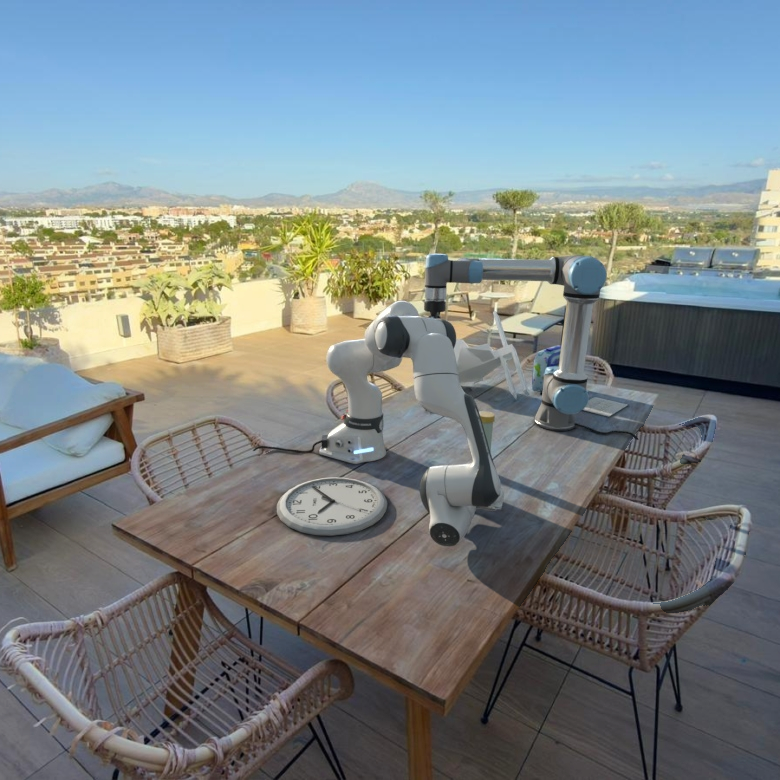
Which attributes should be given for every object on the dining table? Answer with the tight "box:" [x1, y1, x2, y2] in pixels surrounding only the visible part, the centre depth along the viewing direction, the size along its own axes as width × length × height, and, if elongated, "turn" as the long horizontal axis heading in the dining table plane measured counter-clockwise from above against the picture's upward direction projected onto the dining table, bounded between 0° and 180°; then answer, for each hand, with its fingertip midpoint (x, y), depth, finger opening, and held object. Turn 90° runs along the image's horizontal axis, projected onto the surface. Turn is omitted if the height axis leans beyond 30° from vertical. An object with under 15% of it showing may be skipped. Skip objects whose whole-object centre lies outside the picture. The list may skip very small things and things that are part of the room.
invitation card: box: [582, 396, 629, 418], centre depth 226 cm, size 21×1×15 cm
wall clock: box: [276, 476, 388, 537], centre depth 142 cm, size 30×2×30 cm
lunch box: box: [531, 345, 561, 393], centre depth 245 cm, size 26×11×21 cm, turn 134°
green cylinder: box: [482, 422, 494, 454], centre depth 161 cm, size 4×4×19 cm
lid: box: [479, 410, 496, 423], centre depth 158 cm, size 5×5×2 cm
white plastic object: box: [454, 310, 531, 400], centre depth 245 cm, size 37×45×31 cm
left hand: (470, 479), depth 145 cm, fingers open, 8 cm apart
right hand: (432, 359), depth 188 cm, fingers open, 13 cm apart
